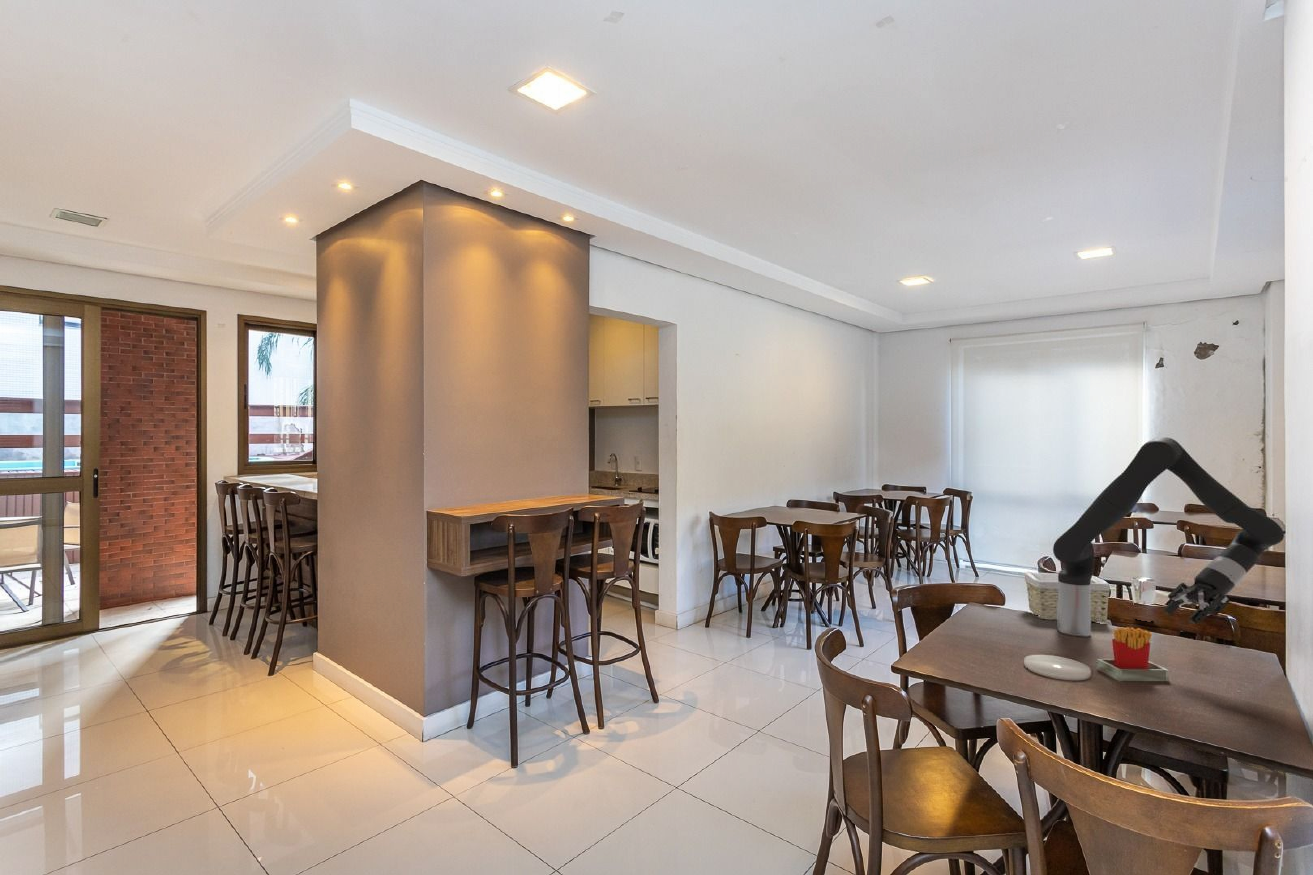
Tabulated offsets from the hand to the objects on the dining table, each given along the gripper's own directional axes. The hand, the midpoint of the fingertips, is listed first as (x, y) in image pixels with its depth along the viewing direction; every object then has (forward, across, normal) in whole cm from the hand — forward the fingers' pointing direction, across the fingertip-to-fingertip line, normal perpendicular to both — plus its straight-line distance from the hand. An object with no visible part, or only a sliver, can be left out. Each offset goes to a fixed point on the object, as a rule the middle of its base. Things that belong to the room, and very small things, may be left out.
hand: (1179, 617), depth 173 cm
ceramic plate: (+34, -4, -11) cm, 36 cm away
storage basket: (+8, -58, +16) cm, 61 cm away
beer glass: (-10, -53, +33) cm, 64 cm away
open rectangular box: (+21, 0, +2) cm, 21 cm away
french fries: (+21, 0, +2) cm, 21 cm away
